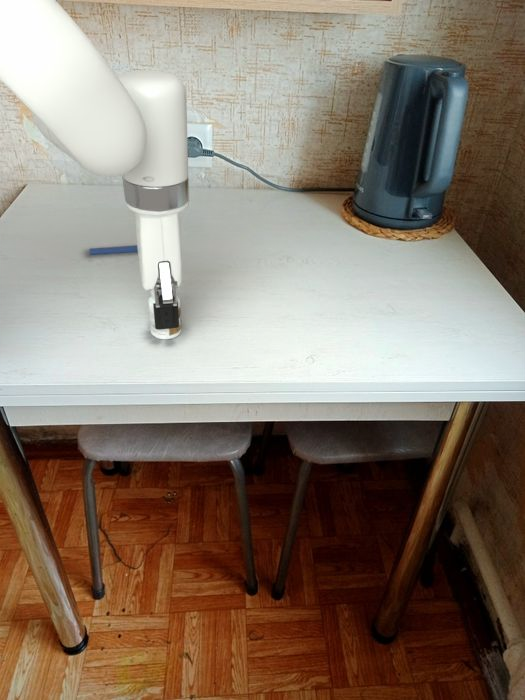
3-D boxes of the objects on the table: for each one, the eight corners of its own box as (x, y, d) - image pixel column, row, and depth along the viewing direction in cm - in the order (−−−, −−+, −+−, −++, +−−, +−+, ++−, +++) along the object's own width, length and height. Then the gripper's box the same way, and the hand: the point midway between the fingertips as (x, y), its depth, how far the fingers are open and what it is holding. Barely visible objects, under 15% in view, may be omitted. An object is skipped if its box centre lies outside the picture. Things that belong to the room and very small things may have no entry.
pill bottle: (178, 341, 71) (176, 295, 66) (147, 339, 71) (143, 292, 66) (183, 323, 75) (182, 277, 70) (154, 320, 75) (150, 275, 70)
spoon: (89, 259, 88) (89, 254, 87) (89, 247, 91) (89, 242, 90) (172, 253, 91) (172, 248, 90) (169, 242, 94) (169, 237, 94)
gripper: (120, 165, 65) (134, 286, 77) (127, 223, 53) (142, 357, 64) (179, 164, 67) (184, 282, 79) (199, 220, 55) (201, 351, 66)
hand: (165, 315), depth 71 cm, fingers closed on pill bottle, 4 cm apart
